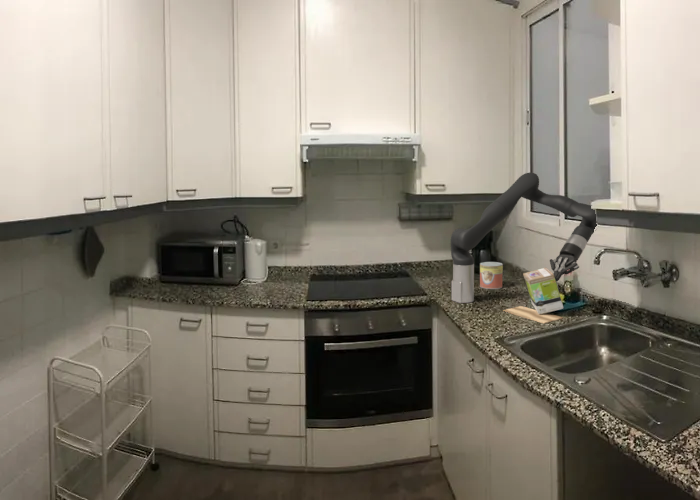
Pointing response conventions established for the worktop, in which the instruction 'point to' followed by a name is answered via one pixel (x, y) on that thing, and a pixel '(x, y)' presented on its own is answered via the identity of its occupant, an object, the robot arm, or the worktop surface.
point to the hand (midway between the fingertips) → (553, 280)
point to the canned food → (491, 275)
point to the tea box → (543, 290)
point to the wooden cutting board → (533, 314)
